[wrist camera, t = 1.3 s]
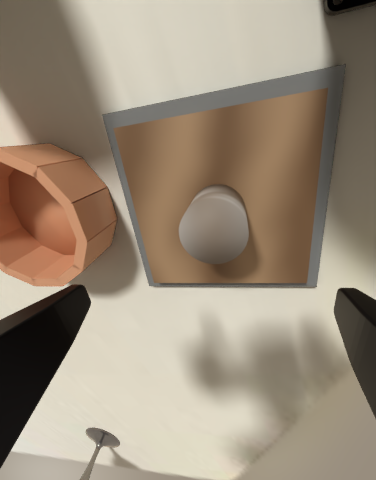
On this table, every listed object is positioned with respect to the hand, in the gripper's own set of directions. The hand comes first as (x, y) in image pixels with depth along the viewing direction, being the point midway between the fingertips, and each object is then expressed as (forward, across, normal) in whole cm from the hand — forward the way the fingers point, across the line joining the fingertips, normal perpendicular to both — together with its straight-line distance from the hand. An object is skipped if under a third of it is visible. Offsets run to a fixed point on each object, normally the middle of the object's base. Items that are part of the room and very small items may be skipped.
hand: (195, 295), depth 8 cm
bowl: (+11, +14, -1) cm, 18 cm away
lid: (+10, 0, 0) cm, 10 cm away
